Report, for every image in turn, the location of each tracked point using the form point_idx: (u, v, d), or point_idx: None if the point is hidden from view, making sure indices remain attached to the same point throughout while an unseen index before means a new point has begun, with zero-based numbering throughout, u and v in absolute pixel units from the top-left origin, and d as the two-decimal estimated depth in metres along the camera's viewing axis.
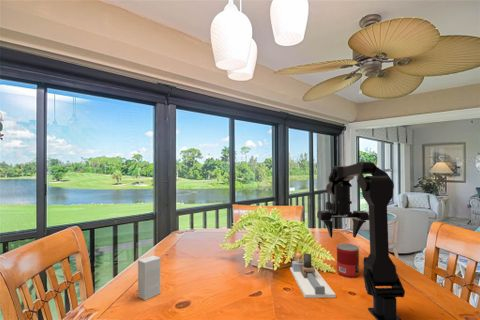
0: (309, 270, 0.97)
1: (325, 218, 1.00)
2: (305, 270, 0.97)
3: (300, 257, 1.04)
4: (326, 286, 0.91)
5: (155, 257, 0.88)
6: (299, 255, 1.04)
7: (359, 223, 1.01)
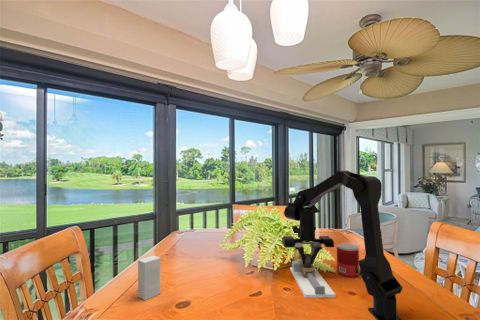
0: (309, 270, 0.97)
1: (288, 245, 0.97)
2: (305, 270, 0.97)
3: (300, 257, 1.04)
4: (326, 286, 0.91)
5: (155, 257, 0.88)
6: (299, 255, 1.04)
7: (315, 251, 0.98)
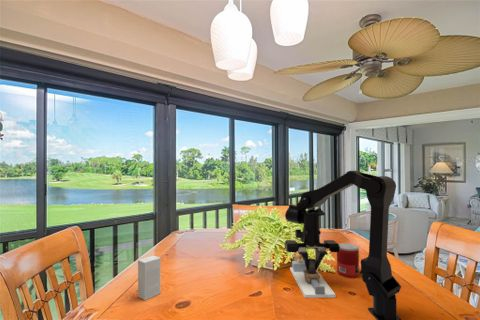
0: (313, 276, 0.92)
1: (291, 250, 0.92)
2: (309, 276, 0.92)
3: (300, 257, 1.04)
4: (326, 286, 0.91)
5: (155, 257, 0.88)
6: (299, 255, 1.04)
7: (320, 256, 0.92)
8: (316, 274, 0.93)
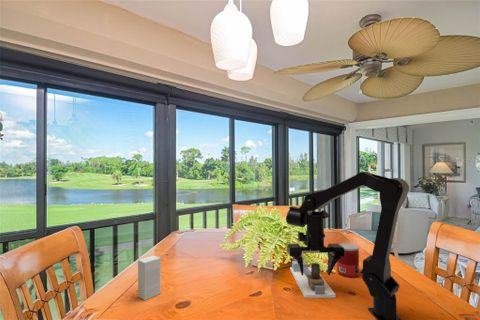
0: (317, 282, 0.88)
1: (294, 254, 0.87)
2: (313, 282, 0.88)
3: None
4: (326, 286, 0.91)
5: (155, 257, 0.88)
6: None
7: (333, 260, 0.88)
8: (320, 280, 0.88)
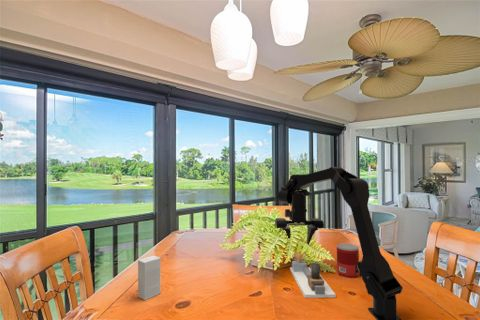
0: (317, 282, 0.88)
1: (280, 226, 1.02)
2: (313, 282, 0.88)
3: (300, 257, 1.04)
4: (326, 286, 0.91)
5: (155, 257, 0.88)
6: (299, 255, 1.04)
7: (311, 231, 1.03)
8: (320, 280, 0.88)
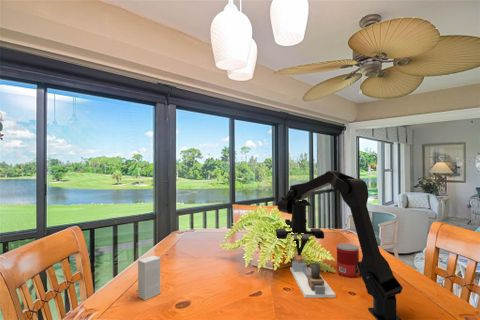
0: (317, 282, 0.88)
1: (280, 237, 1.02)
2: (313, 282, 0.88)
3: (300, 259, 1.04)
4: (326, 286, 0.91)
5: (155, 257, 0.88)
6: (299, 257, 1.04)
7: (303, 242, 1.03)
8: (320, 280, 0.88)
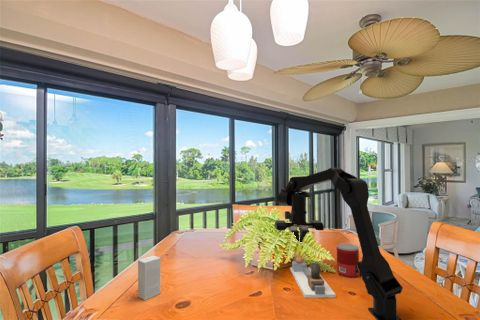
0: (317, 282, 0.88)
1: (280, 228, 1.02)
2: (313, 282, 0.88)
3: (300, 261, 1.04)
4: (326, 286, 0.91)
5: (155, 257, 0.88)
6: (299, 259, 1.04)
7: (302, 233, 1.03)
8: (320, 280, 0.88)
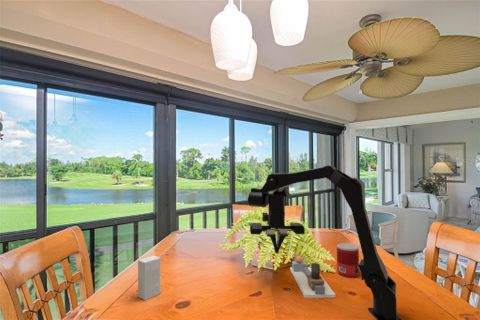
0: (317, 282, 0.88)
1: (255, 232, 0.89)
2: (313, 282, 0.88)
3: (300, 261, 1.04)
4: (326, 286, 0.91)
5: (155, 257, 0.88)
6: (299, 259, 1.04)
7: (280, 238, 0.90)
8: (320, 280, 0.88)
